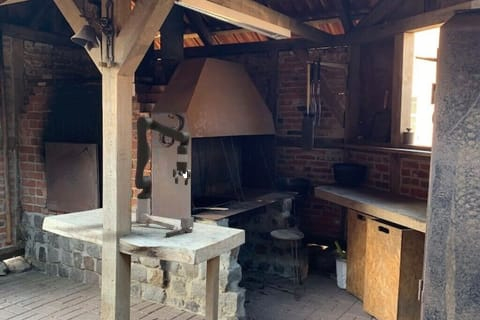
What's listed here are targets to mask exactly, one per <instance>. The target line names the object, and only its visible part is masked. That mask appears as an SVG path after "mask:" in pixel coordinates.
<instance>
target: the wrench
mask: <svg viewBox="0 0 480 320" xmlns="http://www.w3.org/2000/svg"><path fill="white" fill-rule="evenodd" d="M140 217H144V218H145V221H142V223H141V224H143V225H144V226H145V225H146V227H149V226H150V225H152V224H153V225H156V226H160V227H162V228H167V229H170V230H172V231H175V230H179V225H177V224H173V223H169V222H165V221H162V220H158V219H154V218H153V217H151V215H150V216H149V215H147V214H142V215H141V216H140ZM175 227H176V228H175Z"/></svg>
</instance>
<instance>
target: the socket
mask: <svg viewBox="0 0 480 320" xmlns="http://www.w3.org/2000/svg"><path fill="white" fill-rule="evenodd" d="M194 220H195V217H194V216H188V215H186V216H181V217H180V228H181V229H182V228H187V229H188V228H192V227H193V228H194V227H195V221H194Z"/></svg>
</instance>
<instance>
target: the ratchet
mask: <svg viewBox="0 0 480 320" xmlns="http://www.w3.org/2000/svg"><path fill="white" fill-rule="evenodd" d="M193 229H194V227H192V228H188V229H187V228H182V227H181V228H180V229H177V230H171V231H168V232H167V231H166V232H165V238H166V237H167V238H173V237H177V236H178V235H179V236H180V235H183V234H190V233H193Z"/></svg>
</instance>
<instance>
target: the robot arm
mask: <svg viewBox="0 0 480 320" xmlns="http://www.w3.org/2000/svg"><path fill="white" fill-rule="evenodd" d="M149 130H151V131H155V132H157V133H159V134H161V135H163V136H165V137H166V138H167V137H168V138H169V139H173V140H174V141H176V142H178V143H179V145H178V146H177V147H176V148H177V149H176V163H175V165H176V166H175V167H176V168H172V178H174V184H175V185H177V184H179V177H181V176H182V177H183V178H184V186H188V185H189V184H188V183H189V180H191V178H192V177H191V174H192V173H191V169H188V161H189V160H188V148H189V145H190V138H191V137H190V134H189V133H188V132H187V131H180V130H177V129H176V128H175V127H172V126H169V125H166V124H163V123H161V122H159V121H157V120H155V119H154V118H152V117H150V116H139V117H138V118H137V121H136V135H137V136H136V137H137V142H136V143H137V145H136V165H135V166H136V168H135V170H136V171H135V174H134V175H135V177H134V185H135V188H136V189H137V190H141V192H139V193H138V194H137V196H136V208H135V222H136V223H139V224H143V223H142V221H145V218H144V217H140V216H141V215H142V214H147V215H149V216H150V217H151V196H152V190H153V189H152V187H153V181H152V180H153V179H152V178H151V176H149V175H144V172H145V168H146V167H147V165H148V163H149V162H150V158H151V147H150V146H151V145H150V143H149V140H148V138H147V136H148V135H147V131H149Z"/></svg>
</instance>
